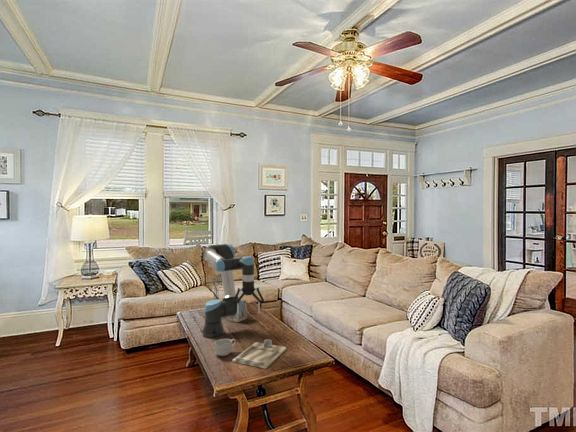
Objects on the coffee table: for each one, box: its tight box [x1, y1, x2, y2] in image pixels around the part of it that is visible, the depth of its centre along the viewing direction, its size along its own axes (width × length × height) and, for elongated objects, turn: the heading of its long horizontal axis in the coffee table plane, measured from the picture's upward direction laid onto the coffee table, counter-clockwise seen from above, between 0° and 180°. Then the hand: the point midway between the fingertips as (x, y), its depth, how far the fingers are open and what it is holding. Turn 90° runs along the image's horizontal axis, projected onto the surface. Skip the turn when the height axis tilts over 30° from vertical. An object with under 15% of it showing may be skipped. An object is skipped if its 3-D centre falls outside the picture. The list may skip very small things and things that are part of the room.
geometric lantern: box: [211, 273, 224, 300], centre depth 281 cm, size 16×16×35 cm
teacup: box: [213, 338, 237, 357], centre depth 204 cm, size 14×11×8 cm
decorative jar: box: [226, 296, 248, 323], centre depth 267 cm, size 12×12×18 cm
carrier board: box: [232, 338, 287, 369], centre depth 201 cm, size 22×28×5 cm
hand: (248, 313), depth 213 cm, fingers open, 13 cm apart
